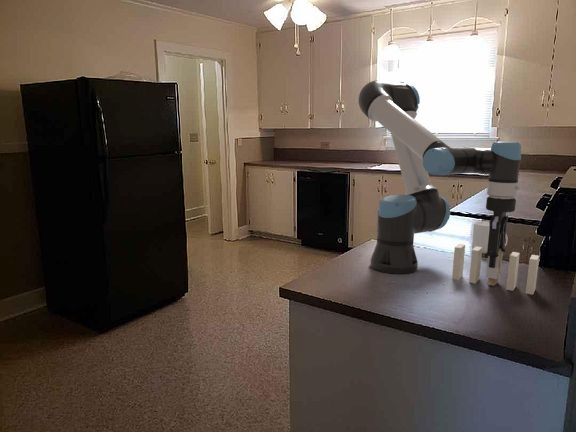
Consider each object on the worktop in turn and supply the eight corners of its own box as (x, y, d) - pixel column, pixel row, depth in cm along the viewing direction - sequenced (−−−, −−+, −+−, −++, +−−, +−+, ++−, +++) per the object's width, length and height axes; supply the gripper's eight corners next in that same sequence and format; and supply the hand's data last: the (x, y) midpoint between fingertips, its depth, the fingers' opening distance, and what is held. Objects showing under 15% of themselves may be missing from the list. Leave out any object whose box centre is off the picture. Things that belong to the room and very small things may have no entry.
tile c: (506, 289, 124) (509, 255, 122) (509, 284, 128) (512, 251, 126) (513, 290, 123) (516, 256, 121) (516, 285, 127) (519, 252, 125)
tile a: (452, 278, 132) (454, 247, 130) (456, 274, 136) (459, 243, 134) (458, 280, 131) (460, 248, 129) (462, 275, 135) (465, 244, 133)
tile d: (525, 293, 121) (529, 258, 119) (528, 288, 125) (532, 254, 123) (532, 294, 120) (537, 259, 118) (535, 289, 124) (539, 255, 122)
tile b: (469, 282, 130) (471, 249, 128) (473, 277, 134) (476, 246, 132) (475, 283, 129) (478, 250, 127) (479, 279, 132) (482, 247, 131)
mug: (503, 257, 156) (506, 228, 154) (468, 251, 163) (471, 223, 161) (508, 252, 162) (511, 224, 160) (475, 247, 170) (477, 220, 168)
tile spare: (487, 284, 127) (491, 251, 125) (491, 280, 131) (494, 248, 129) (494, 286, 125) (497, 252, 124) (497, 281, 129) (501, 248, 128)
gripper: (510, 202, 114) (501, 286, 118) (521, 194, 128) (512, 269, 133) (479, 199, 118) (472, 280, 122) (493, 192, 133) (486, 265, 137)
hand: (493, 275), depth 128 cm, fingers open, 5 cm apart
